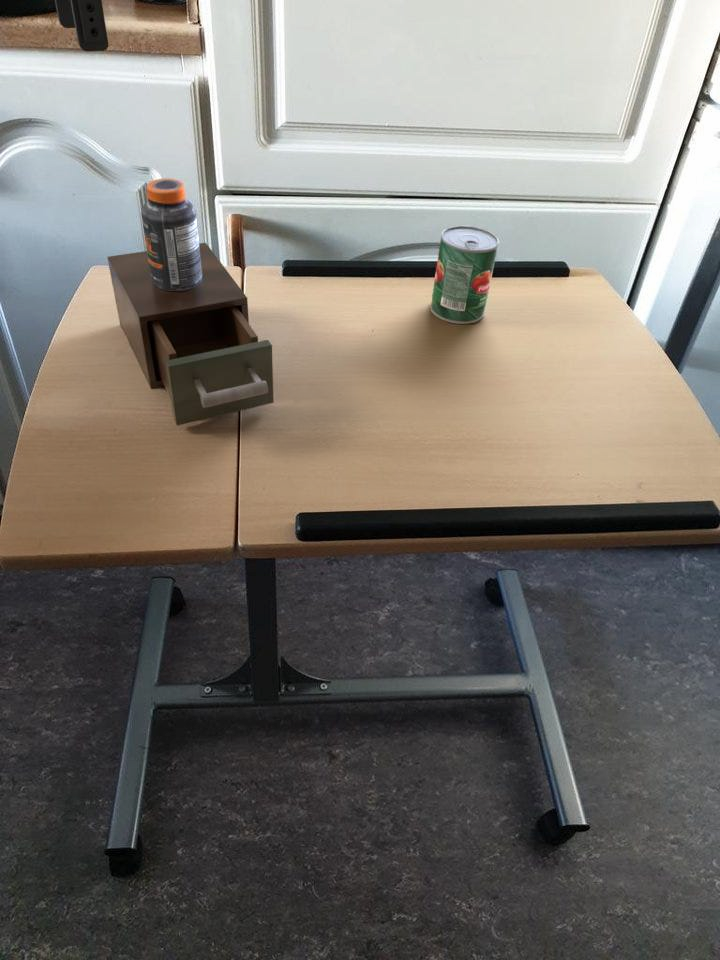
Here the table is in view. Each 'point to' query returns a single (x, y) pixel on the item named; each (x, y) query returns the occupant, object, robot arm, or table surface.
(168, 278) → the pill bottle
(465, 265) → the canned tomato
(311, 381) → the table surface
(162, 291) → the cabinet
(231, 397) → the drawer
